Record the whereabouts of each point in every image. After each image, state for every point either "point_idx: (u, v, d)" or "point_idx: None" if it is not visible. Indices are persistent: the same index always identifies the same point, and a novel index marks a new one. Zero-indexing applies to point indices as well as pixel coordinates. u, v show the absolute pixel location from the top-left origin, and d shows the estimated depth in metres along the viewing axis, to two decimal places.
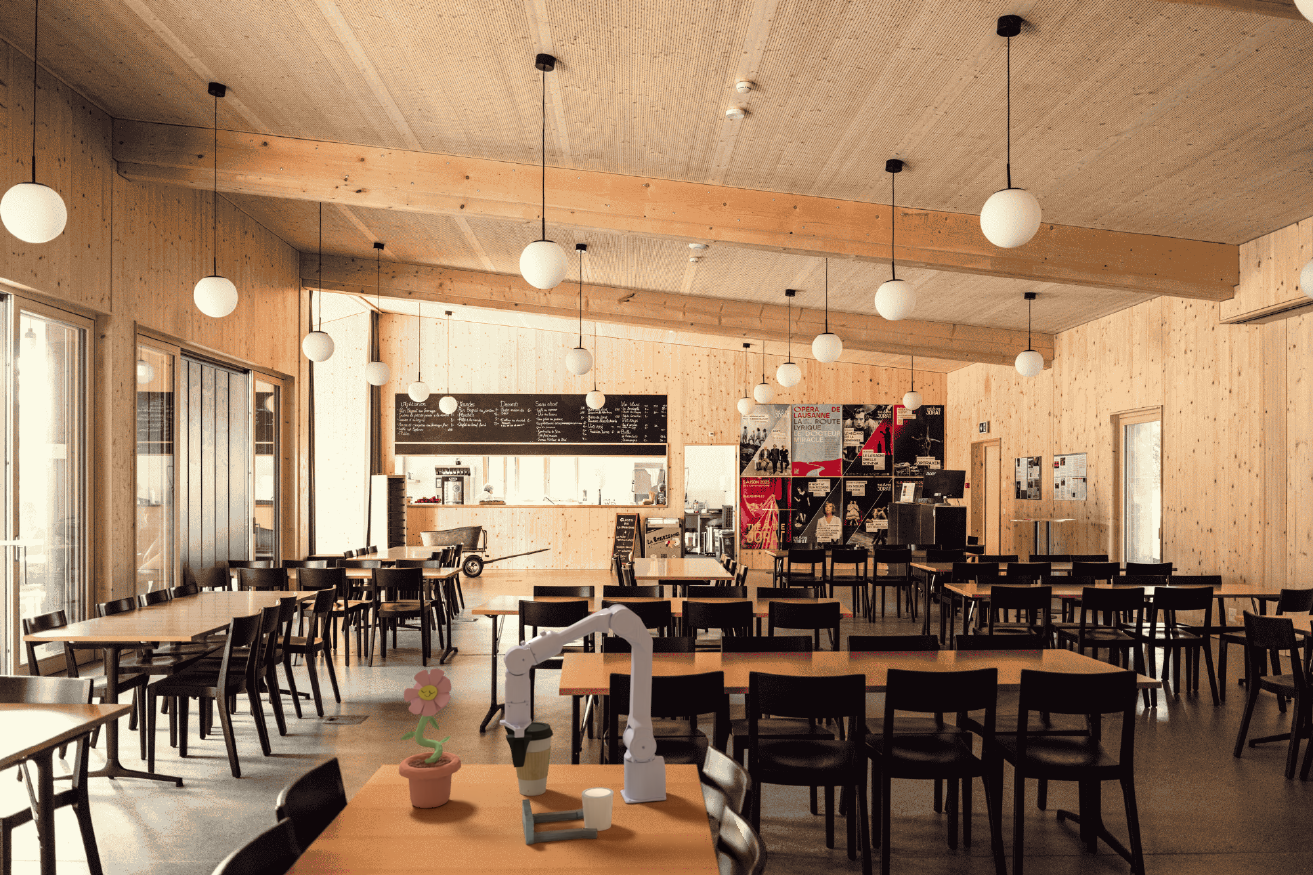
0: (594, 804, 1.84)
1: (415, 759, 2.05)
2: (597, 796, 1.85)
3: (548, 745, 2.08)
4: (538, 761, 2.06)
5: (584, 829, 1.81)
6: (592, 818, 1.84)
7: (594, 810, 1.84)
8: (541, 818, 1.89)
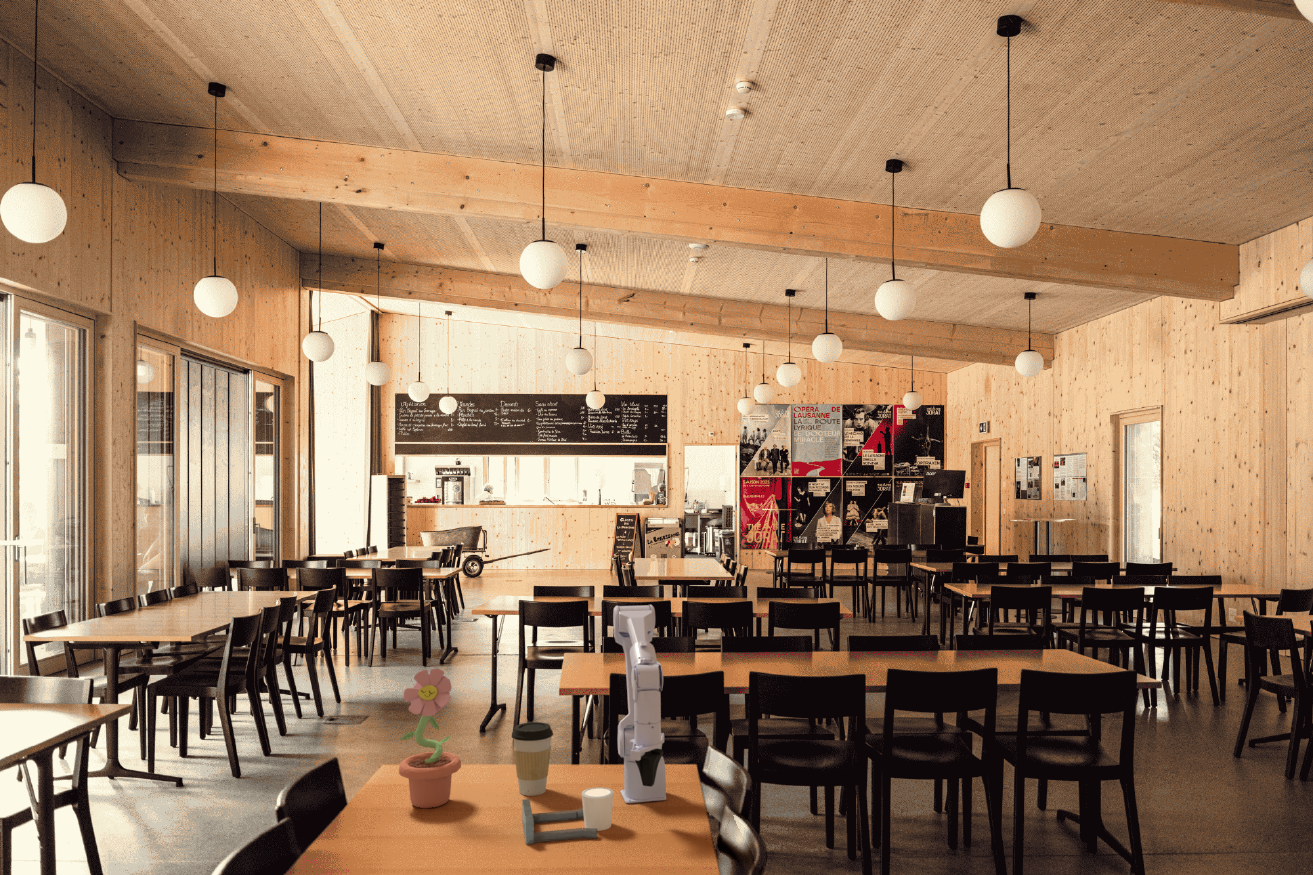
0: (594, 804, 1.84)
1: (415, 759, 2.05)
2: (597, 796, 1.85)
3: (548, 745, 2.08)
4: (538, 761, 2.06)
5: (584, 829, 1.81)
6: (592, 818, 1.84)
7: (594, 810, 1.84)
8: (541, 818, 1.89)
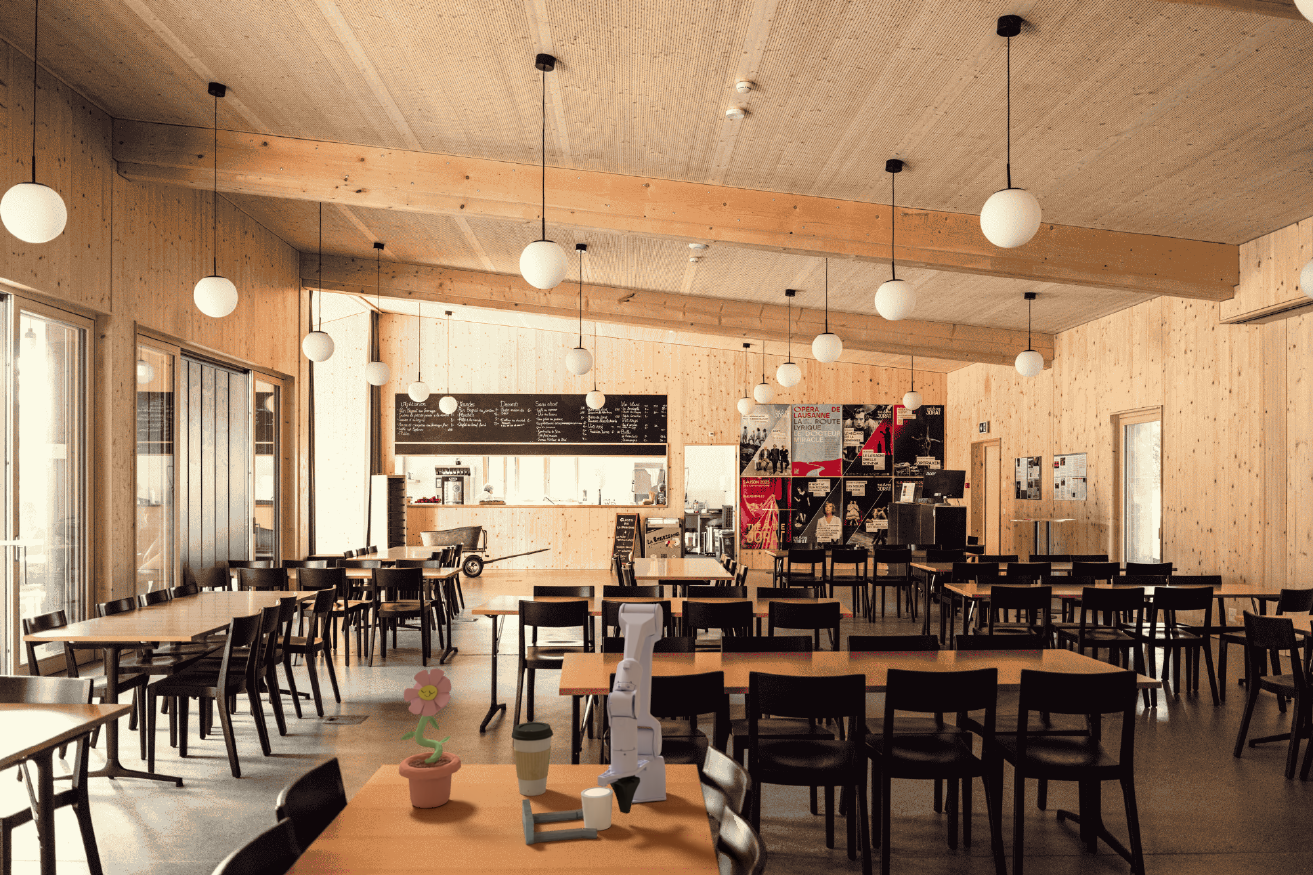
0: (594, 804, 1.84)
1: (415, 759, 2.05)
2: (596, 796, 1.85)
3: (548, 745, 2.08)
4: (538, 761, 2.06)
5: (584, 829, 1.81)
6: (592, 818, 1.84)
7: (594, 810, 1.84)
8: (541, 818, 1.89)
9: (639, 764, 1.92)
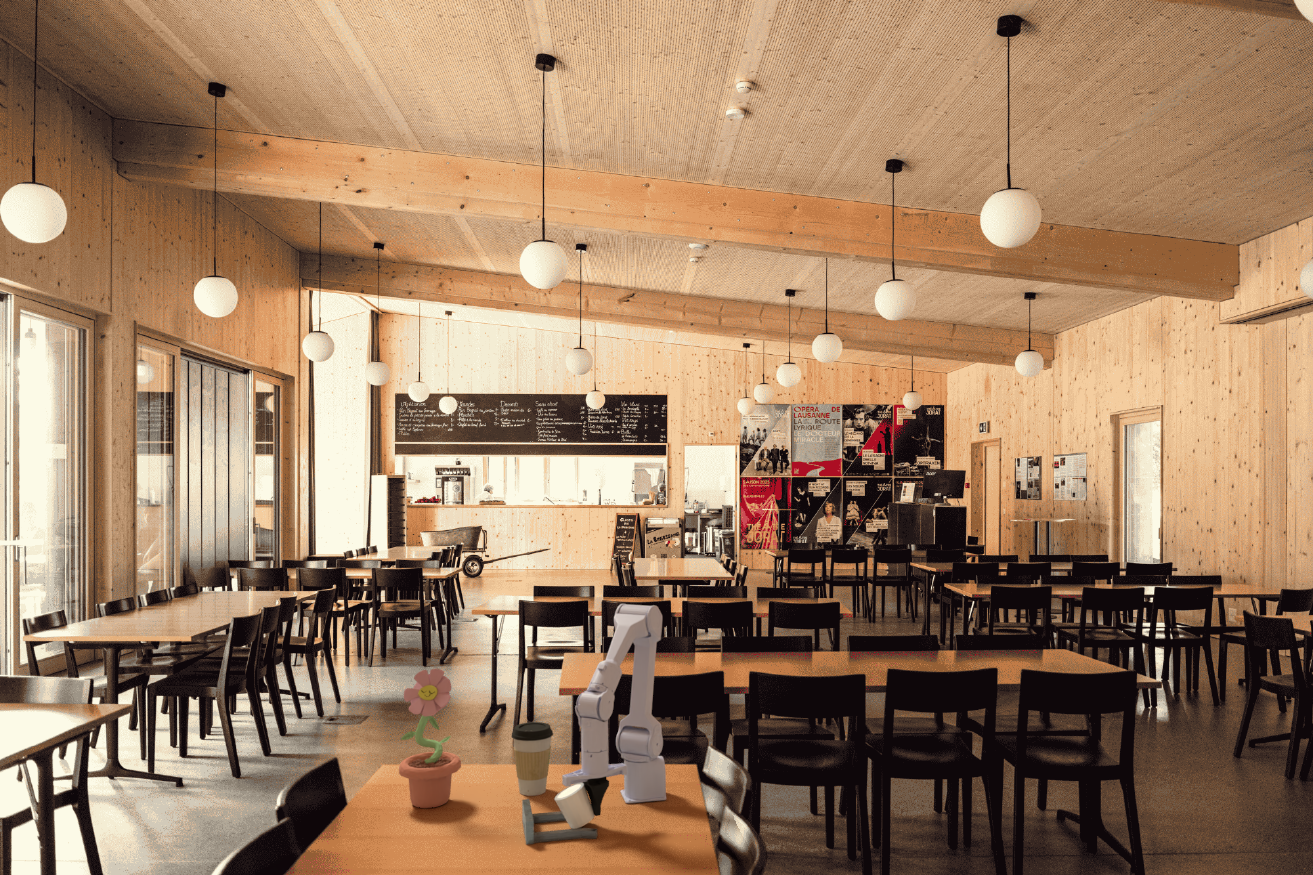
0: (568, 803, 1.84)
1: (415, 759, 2.05)
2: (568, 795, 1.84)
3: (548, 745, 2.08)
4: (538, 761, 2.06)
5: (584, 829, 1.81)
6: (572, 817, 1.84)
7: (571, 809, 1.84)
8: (541, 818, 1.89)
9: (614, 767, 1.89)
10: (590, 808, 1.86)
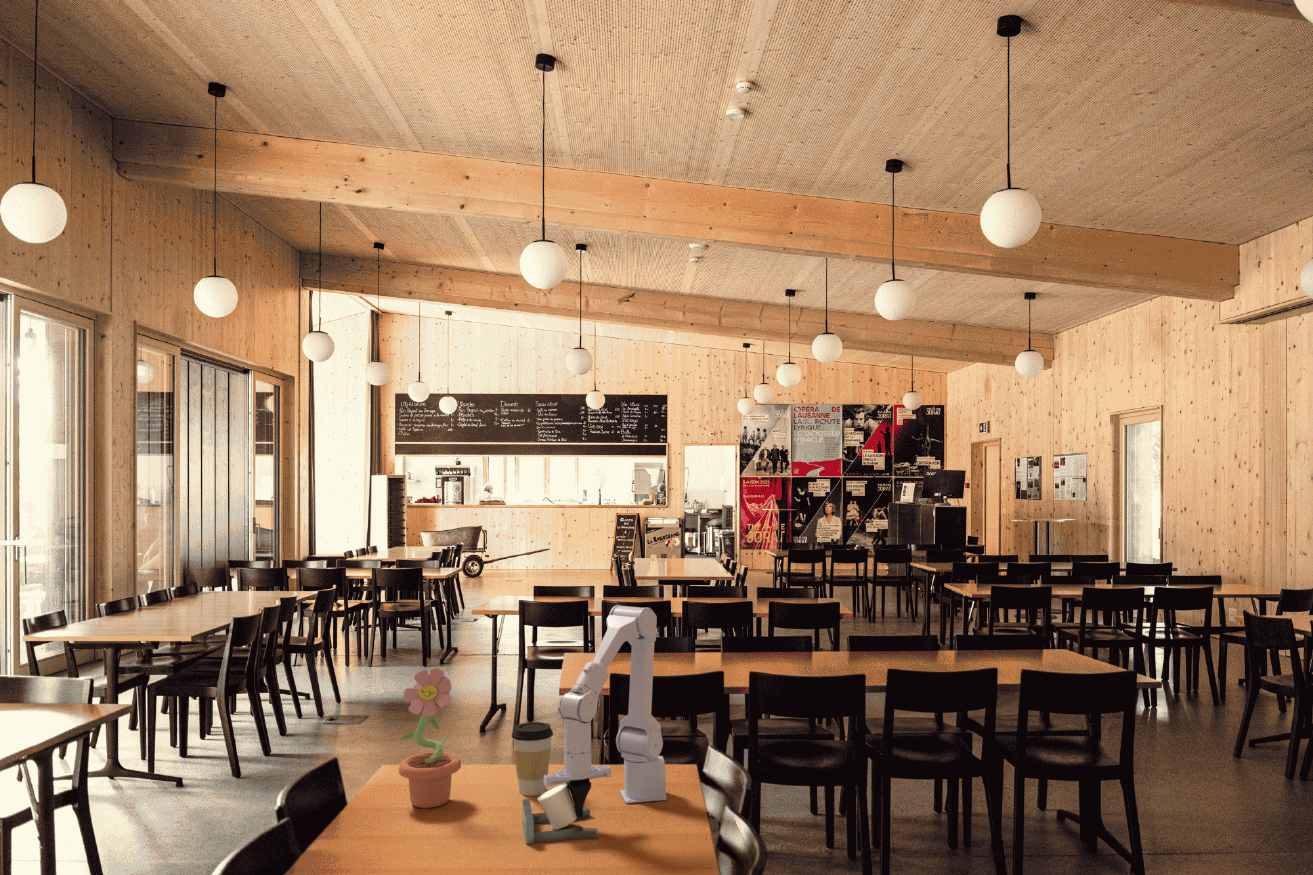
0: (549, 804, 1.83)
1: (415, 759, 2.05)
2: (550, 795, 1.84)
3: (548, 745, 2.08)
4: (538, 761, 2.06)
5: (584, 829, 1.81)
6: (553, 817, 1.84)
7: (552, 809, 1.83)
8: (541, 818, 1.89)
9: (598, 769, 1.88)
10: (572, 809, 1.85)
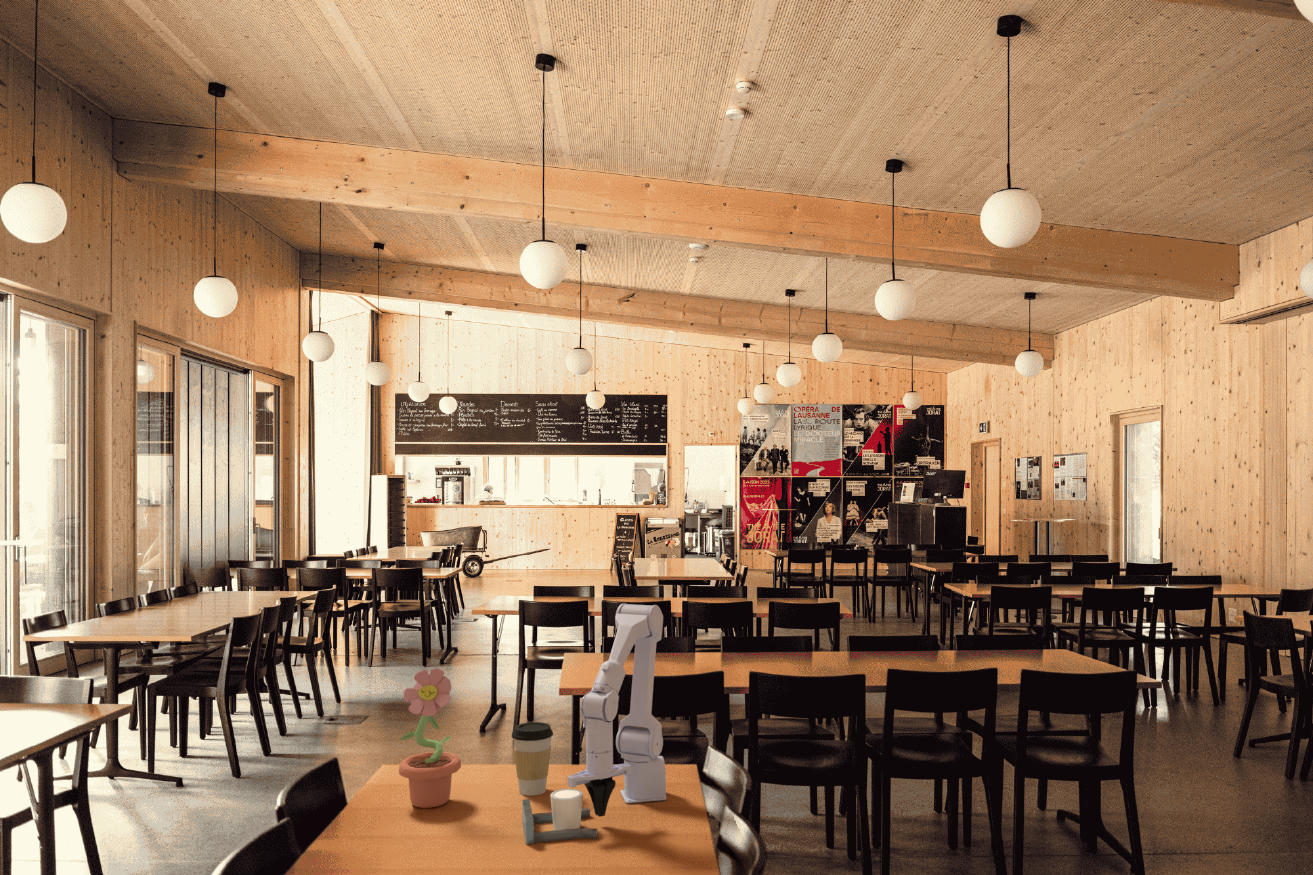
0: (561, 806, 1.83)
1: (415, 759, 2.05)
2: (564, 798, 1.84)
3: (548, 745, 2.08)
4: (538, 761, 2.06)
5: (584, 829, 1.81)
6: (559, 819, 1.83)
7: (561, 812, 1.83)
8: (541, 818, 1.89)
9: (618, 767, 1.90)
10: (578, 819, 1.85)
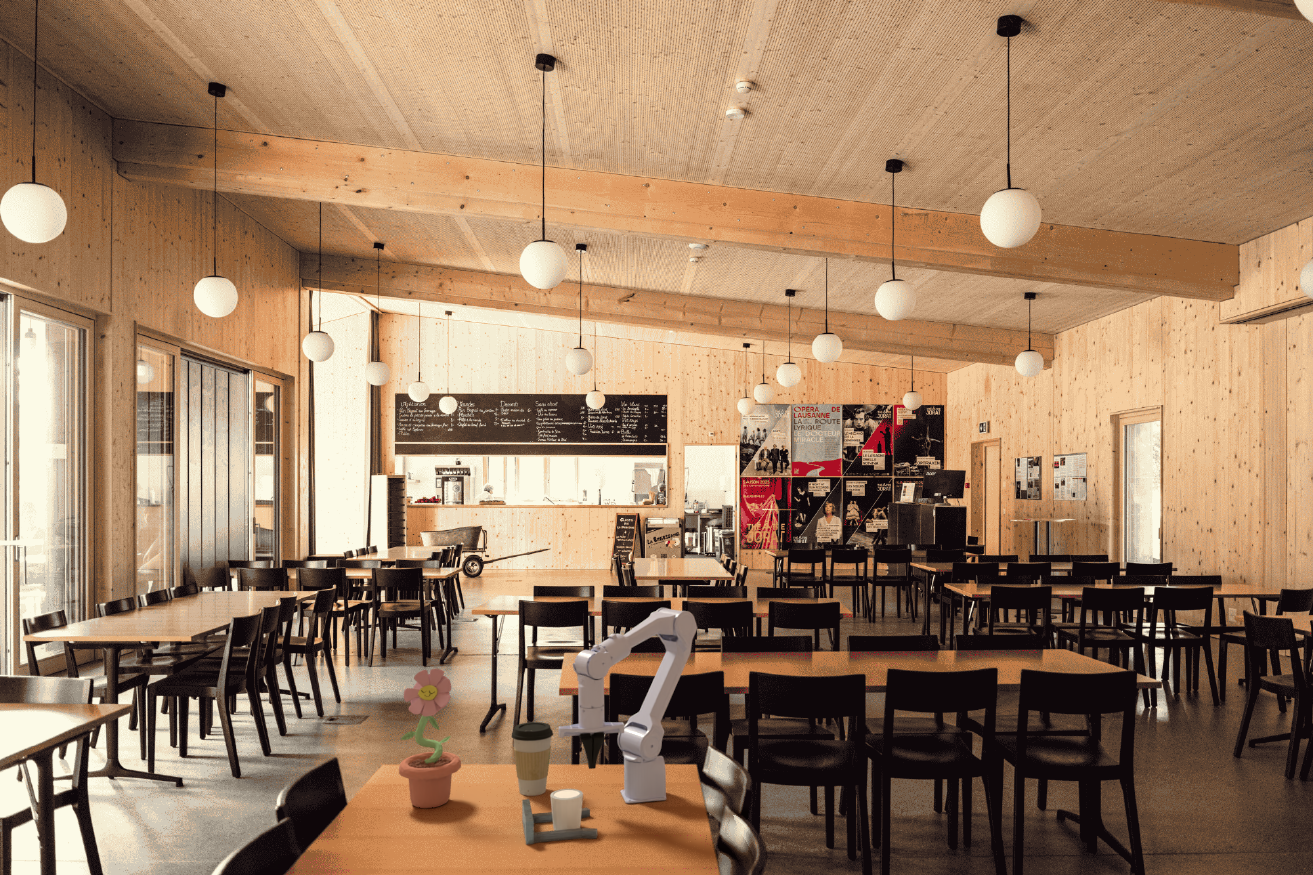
0: (561, 805, 1.83)
1: (415, 759, 2.05)
2: (564, 798, 1.84)
3: (548, 745, 2.08)
4: (538, 761, 2.06)
5: (584, 829, 1.81)
6: (559, 819, 1.84)
7: (561, 812, 1.83)
8: (541, 818, 1.89)
9: (611, 725, 1.97)
10: (578, 819, 1.85)
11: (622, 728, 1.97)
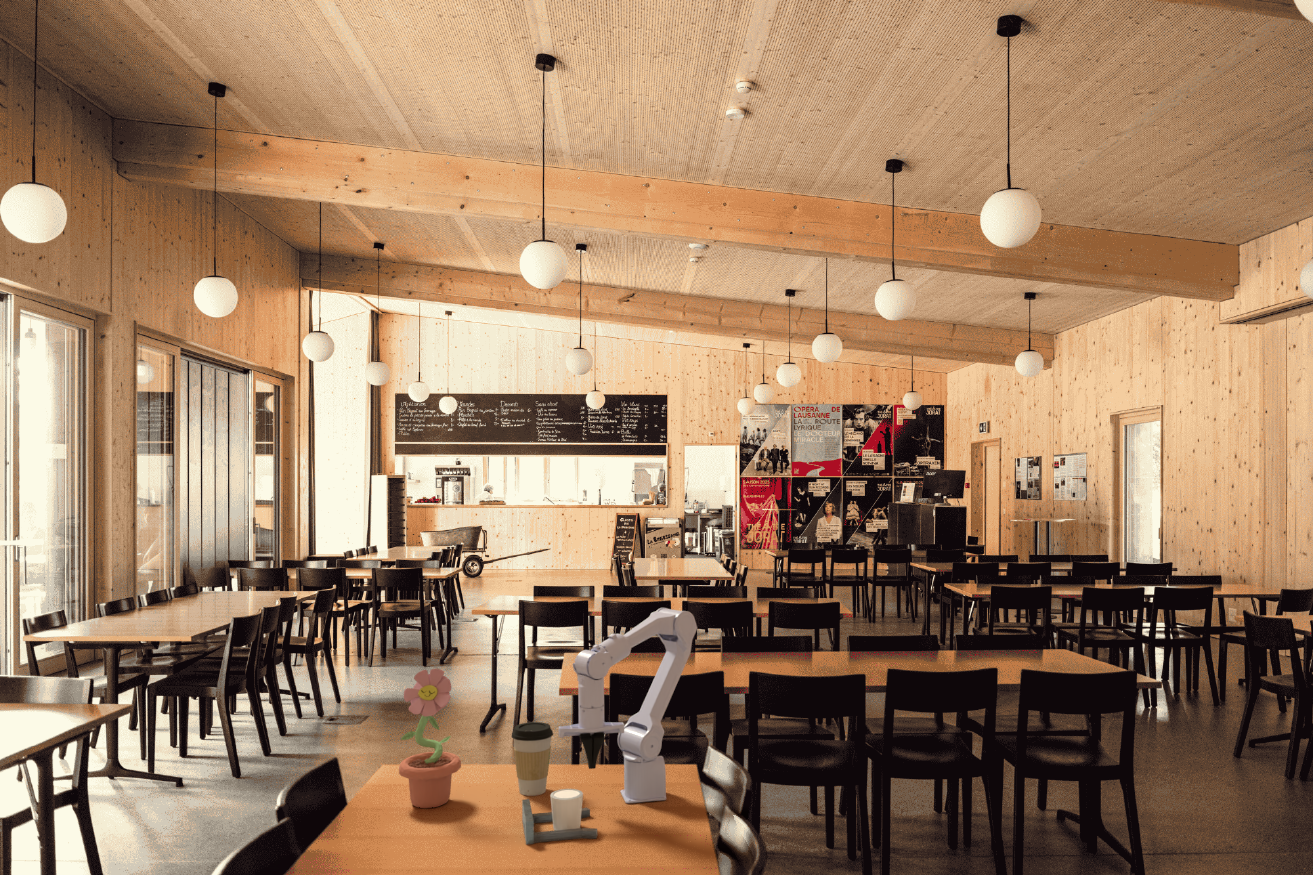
0: (561, 806, 1.83)
1: (415, 759, 2.05)
2: (564, 798, 1.84)
3: (548, 745, 2.08)
4: (538, 761, 2.06)
5: (584, 829, 1.81)
6: (559, 819, 1.84)
7: (561, 812, 1.83)
8: (541, 818, 1.89)
9: (611, 725, 1.97)
10: (578, 819, 1.85)
11: (622, 728, 1.97)
